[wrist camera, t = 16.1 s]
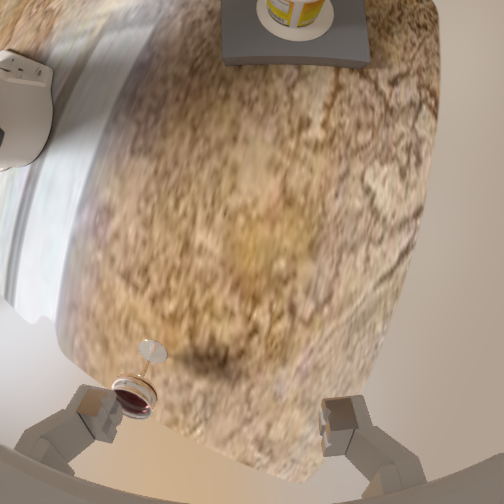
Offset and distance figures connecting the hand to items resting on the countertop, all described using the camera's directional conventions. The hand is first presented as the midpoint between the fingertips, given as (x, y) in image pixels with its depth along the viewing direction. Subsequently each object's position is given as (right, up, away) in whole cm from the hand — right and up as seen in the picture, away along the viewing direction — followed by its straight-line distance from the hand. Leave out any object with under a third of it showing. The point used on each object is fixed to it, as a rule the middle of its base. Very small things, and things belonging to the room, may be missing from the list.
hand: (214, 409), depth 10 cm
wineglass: (-15, -10, +36) cm, 40 cm away
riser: (+6, +33, +18) cm, 38 cm away
